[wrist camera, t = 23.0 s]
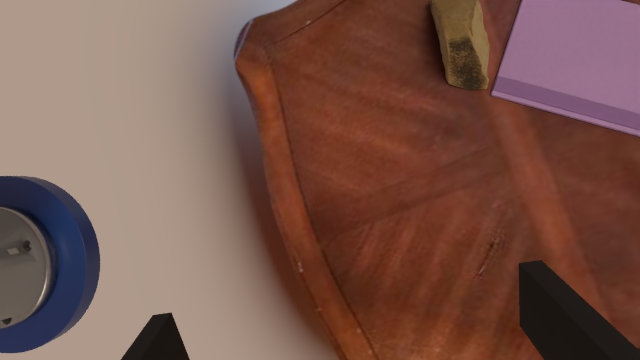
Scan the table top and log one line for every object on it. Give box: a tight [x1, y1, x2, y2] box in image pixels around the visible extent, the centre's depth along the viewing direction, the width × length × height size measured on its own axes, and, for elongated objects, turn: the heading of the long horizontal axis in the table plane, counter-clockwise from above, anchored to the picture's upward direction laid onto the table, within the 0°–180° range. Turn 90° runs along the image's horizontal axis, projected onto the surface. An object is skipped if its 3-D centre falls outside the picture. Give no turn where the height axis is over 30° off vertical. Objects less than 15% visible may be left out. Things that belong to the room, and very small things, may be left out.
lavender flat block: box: [490, 0, 640, 137], centre depth 36 cm, size 18×13×1 cm
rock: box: [429, 0, 490, 90], centre depth 35 cm, size 11×9×10 cm
